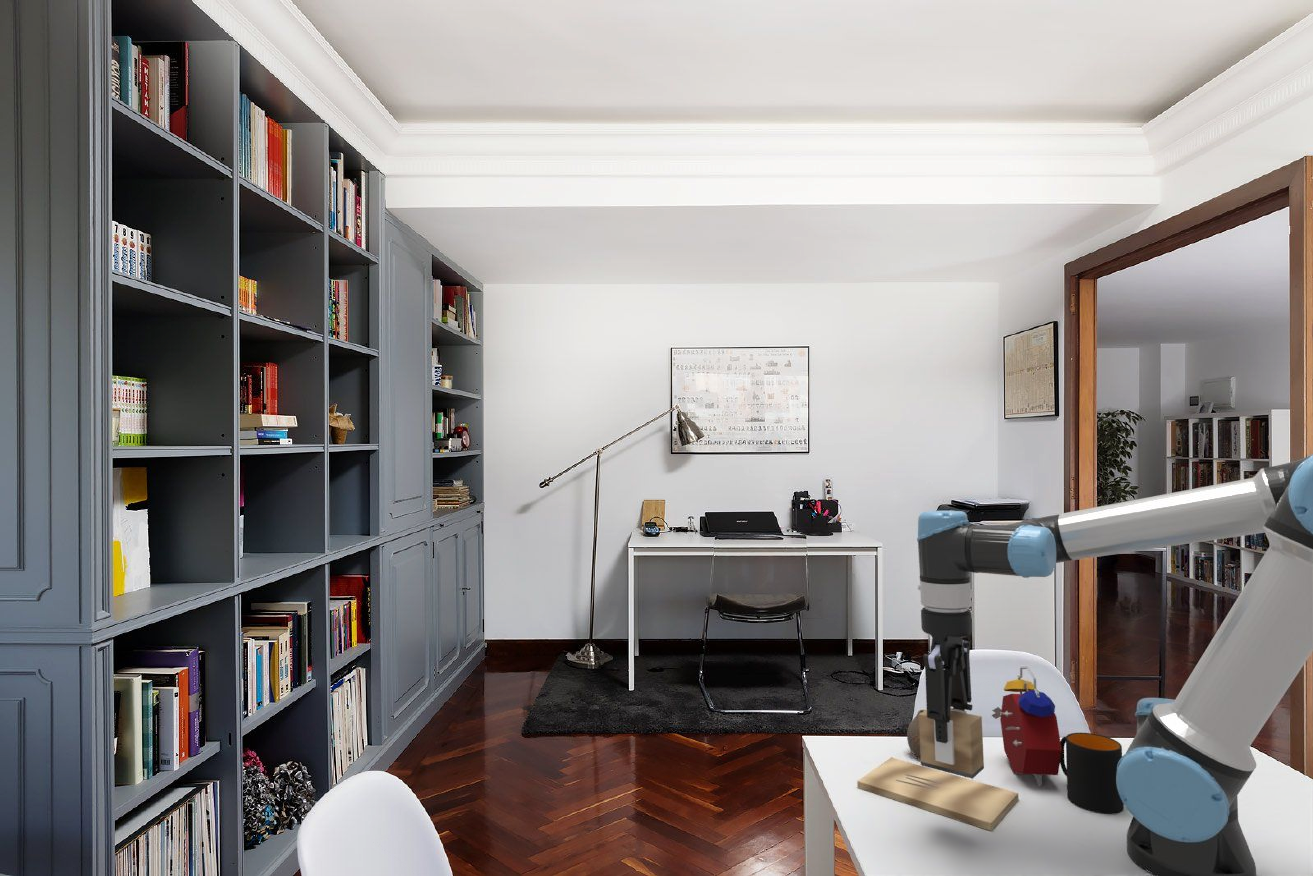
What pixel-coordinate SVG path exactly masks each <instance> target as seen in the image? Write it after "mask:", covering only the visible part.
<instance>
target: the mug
mask: <svg viewBox="0 0 1313 876" xmlns="http://www.w3.org/2000/svg"><path fill="white" fill-rule="evenodd" d="M1060 742H1061V748H1062V753H1061V759H1060V765H1059V766H1060V768H1061V770H1062V772H1063V774H1064V776H1066V790H1067V791H1066V792H1067V793H1066V795H1067V799H1068V801H1070V803H1072V804H1073V805H1074V806H1076V807H1077V808H1080V809H1082V810H1085V811H1088V812H1093V813H1097V814H1104V815H1106V814H1107V815H1112V814H1113V815H1114V814H1119V813H1121V812H1123V810H1124V807H1125V805H1124V804H1123V801H1122V800H1121V798H1120V795H1119V793H1118V789H1117V785H1116V772H1117V765H1118V762H1119V760H1120V759H1121V757H1122V756H1123V747H1122V746H1123V745H1122V744H1121V743H1120V742H1119V741H1118V740H1115V739H1113V738H1111V737H1108V736H1105V735H1100V734H1098V733H1091V732H1073V733H1072V732H1071V733H1069V734H1066V735H1065V736H1063V737H1062V738H1060ZM1065 751H1066V752H1065ZM1065 758H1066V761H1065Z"/></svg>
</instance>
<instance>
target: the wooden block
mask: <svg viewBox="0 0 1313 876" xmlns="http://www.w3.org/2000/svg"><path fill="white" fill-rule="evenodd" d="M924 710H925V711H923V712H922V713H920V714H919V731H920V755H921V759H920V766H924V767H927V768H931V769H935V770H938V771H942V772H945V773H949V774H952V775H956V776H959V777H963V778H967V779H971V780H973V779H975V778H976V777H977V775H979V773H981V772H982V770H984V769H985V765H984V764H985V762H984V743H983V739H984V737H983V717H982V716H981V715H977V714H970V713H967V712H966V713H961V712H956V711H950V720H952V721H953V735H954V758H955V764H954V765H951V764H947V763H943V762H939V761H935V737H934V719H930V718H927V708H926V709H924Z"/></svg>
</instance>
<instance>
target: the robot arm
mask: <svg viewBox="0 0 1313 876" xmlns="http://www.w3.org/2000/svg"><path fill="white" fill-rule="evenodd" d="M1264 533H1265V536H1266V538H1267V540H1268V544H1269V547H1268V548H1267V549H1266V552H1265V553H1264V555H1263V556H1262V558H1261V559H1260V561H1259V562H1258V565H1257V566H1256V568H1255V570H1254V571H1253V572H1252V574H1251V576H1249V577H1250V578H1248V580H1247V583H1246V584H1245V585H1244V587H1243V589H1242V591H1241V592H1240V594H1239V595H1238V597H1237V599H1236V600H1235V602H1234V603H1233V605H1232V607H1231V608H1230V610H1229V611H1228V612H1227V615H1226V616H1225V618H1224V619H1223V621H1222V623H1221V625H1220V626H1219V628H1218V630H1217V631H1216V633H1215V635H1214V636H1213V638H1212V639H1211V641H1210V642H1209V644H1208V646H1207V648H1205V651H1204V652H1203V654H1202V656H1201V657H1200V659H1199V661H1198V662H1197V664H1196V665H1195V667H1194V668H1193V670H1192V672H1191V673H1190V675H1189V677H1188V679H1187V680H1186V682H1185V683H1184V685H1183V686H1182V688H1181V690H1180V691H1179V693H1178V694H1177V696H1176V698H1175V699H1171V698H1162V697H1144V698H1141V699H1140V700H1138V702H1137V704H1136V711H1135V712H1134V716H1135V718H1136V721H1137V723H1136V735H1135V737H1134V738H1133V740H1132V741H1131V742H1130V744H1129V747H1128V748H1127V750H1126V752H1125V753H1124V754H1122V757H1121V759H1120V760H1119V762H1118V765H1117V772H1116V785H1117V789H1118V793H1119V795H1120V798H1121V800H1122V801H1123V804H1124V807H1125V808H1126V809H1127V811H1128V812H1129V814H1131V816H1132V819H1131V821H1130V824H1129V827H1128V828H1127V832H1126V852H1127V854H1128V856H1129V857H1130V858H1131V859H1132V860H1133V862H1135V863H1136V864H1137V865H1138V866H1139V867H1141V868H1142V869H1144V870H1145V871H1147V872H1149V873H1151V874H1152V875H1154V876H1257V868H1256V867H1257V866H1256V862H1255V860H1254V858H1253V854H1252V852H1251V850H1250V848H1249V844H1248V843H1247V839H1246V838H1245V835H1244V832H1243V829H1242V827H1241V825H1240V822H1239V807H1238V803H1239V801H1238V795H1239V794H1240V792H1241V790H1242V789H1243V787H1244V786H1245V785H1246V783H1247V781H1249V778H1250V777H1251V775H1252V774H1253V773H1254V771H1255V769H1256V768H1257V762H1256V760H1255V757H1254V754H1253V752H1252V750H1251V745H1252V744H1253V742H1254V741H1255V739H1256V738H1257V736H1258V735H1259V733H1260V731H1262V728H1263V727H1264V725H1265V724H1266V723H1267V721H1268V719H1269V718H1270V717H1271V715H1272V714H1273V712H1274V710H1275V709H1276V707H1277V706H1278V705H1279V703H1280V701H1281V700H1282V699H1283V697H1284V695H1285V694H1286V692H1287V690H1288V689H1289V688H1290V686H1291V685H1292V683H1293V681H1294V680H1295V678H1296V677H1297V676H1298V674H1299V673H1300V671H1301V670H1302V669H1303V667H1304V665H1305V663H1306V662H1307V660H1308V659H1309V658H1310V656H1311V654H1312V653H1313V453H1312V454H1311V455H1308V456H1305V457H1304V458H1300V459H1297V460H1294V461H1290V462H1287V463H1281V464H1279V465H1277V464H1276V465H1274V466H1269V467H1262V468H1260V469H1259V470H1258V471H1257V473H1256V474H1255V475H1254V477H1253V476H1252V477H1249V478H1245V479H1240V480H1234V481H1229V482H1223V483H1218V484H1213V485H1208V486H1202V487H1201V486H1200V487H1196V488H1192V489H1186V490H1181V491H1180V490H1179V491H1175V492H1170V493H1169V492H1168V493H1165V494H1160V495H1159V494H1158V495H1155V496H1149V497H1143V498H1138V499H1133V500H1126V501H1122V502H1117V503H1116V502H1115V503H1111V504H1106V505H1100V506H1095V507H1090V508H1086V509H1080V510H1074V511H1068V512H1064V513H1063V512H1062V513H1060V514H1053V515H1048V516H1043V517H1042V516H1041V517H1032V518H1027V519H1024V520H1021V521H1017V522H1014V523H1009V524H974V523H969V520H968V514H967V513H966V512H964V511H960V510H927V511H923V512H921V513H920V514H919V516H918V518H917V538H916V541H917V549H918V550H917V551H918V563H919V565H918V566H919V584H918V586H917V589H918V591H920V604H921V605H922V606H923V607H922V609H920V620H921V621H920V623H921V630H922V632H924V633H925V634H927V635H930V636H931V638H932V639H931V646H930V650H929V651H930V654H928V653H924V654H923V657H922V658H923V665H924V670H925V672H924V674H925V695H926V696H925V698H926V701H925V702H926V703H925V704H926V709H927V718H930V719H934V737H935V761H939V762H943V763H947V764H951V765H954V764H955V758H954V735H953V721H952V720H950V711H956V712H961V713H967V711H972V710H973V704H970V703H971V702H972V685H971V684H972V683H971V681H972V680H971V666H970V665H971V664H970V662H971V661H970V651H971V642H970V640H965V639H963V637H968V636H970V635H972V632H973V619H972V617H973V616H972V611H971V610H970V609H969V608H971V606H972V591H971V588H972V587H971V576H970V574H971V573H973V574H979V573H981V574H989V575H991V574H992V575H1001V576H1012V577H1013V576H1015V577H1022V578H1025V579H1028V578H1047V577H1049V576H1051V575H1052V574H1053V572H1054V569H1055V568H1056V564H1058V563H1059V564H1060V563H1066V562H1070V561H1076V560H1084V559H1090V558H1097V557H1104V556H1110V555H1111V556H1113V555H1118V554H1119V555H1120V554H1125V553H1131V552H1138V551H1145V550H1153V549H1160V548H1167V547H1173V546H1174V547H1175V546H1180V545H1188V544H1194V543H1195V544H1196V543H1202V542H1209V541H1210V542H1211V541H1214V540H1215V541H1217V540H1222V539H1230V538H1236V537H1244V536H1251V535H1255V534H1256V535H1257V534H1264Z"/></svg>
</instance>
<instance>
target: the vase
mask: <svg viewBox="0 0 1313 876" xmlns="http://www.w3.org/2000/svg"><path fill="white" fill-rule="evenodd" d="M925 710H926V709H920V710H918V712H917V714H916V715H915V717H914V718H912V720H911V721H910V722H909V724H908V728H907V732H906V734H907V735H906V740H907V744H908V748H909V749H910V751H911V752H912V754H913V755H914V756H915V757H916V758H917V759H920V760H921V755H920V731H919V714H920V713H922V712H923V711H925Z"/></svg>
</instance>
